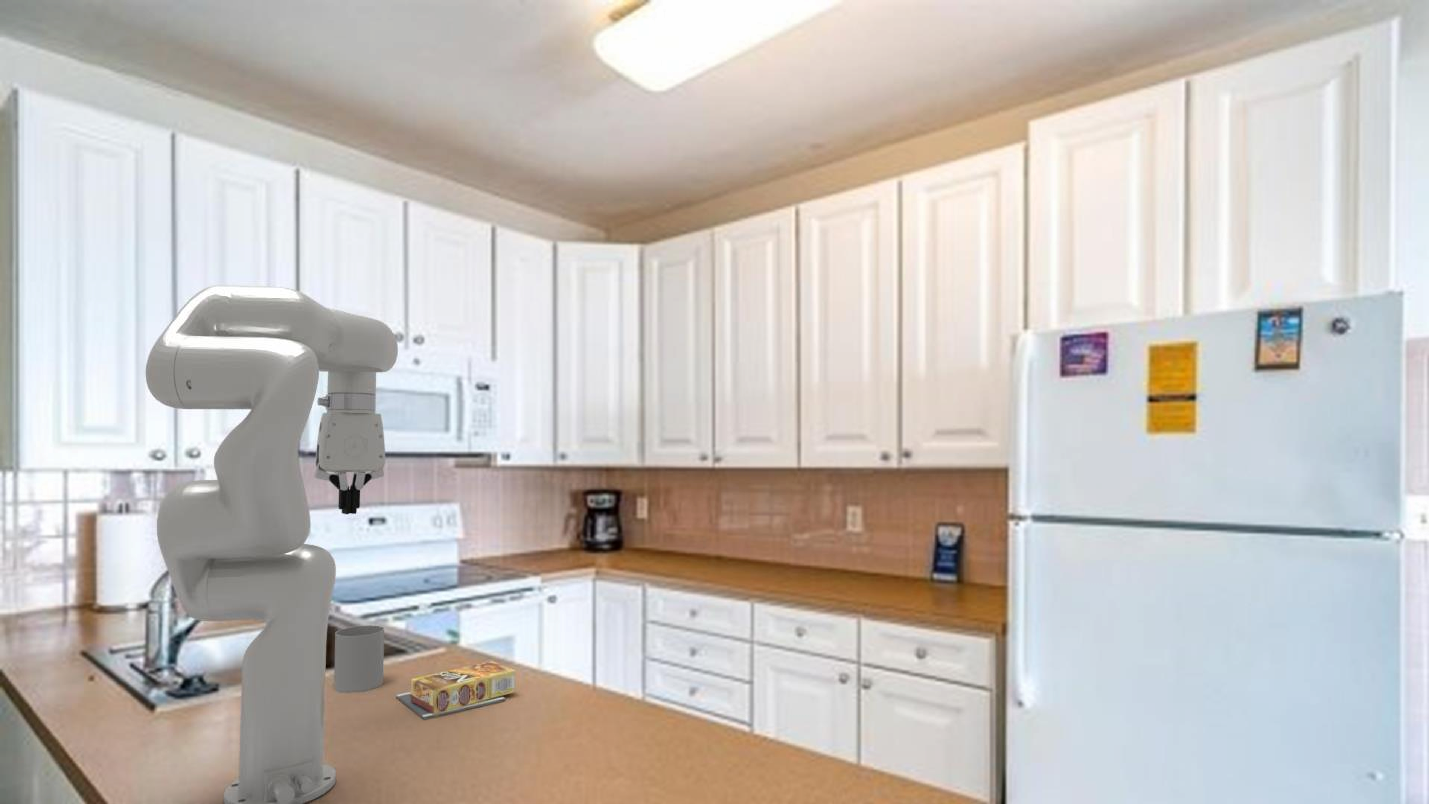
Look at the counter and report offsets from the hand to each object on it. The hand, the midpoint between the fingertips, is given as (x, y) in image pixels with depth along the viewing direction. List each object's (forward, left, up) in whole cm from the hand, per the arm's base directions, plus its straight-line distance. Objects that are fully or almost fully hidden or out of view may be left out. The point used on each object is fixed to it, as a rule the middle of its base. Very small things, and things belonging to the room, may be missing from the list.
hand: (349, 513), depth 129 cm
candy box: (-6, -25, -31) cm, 40 cm away
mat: (-5, -16, -33) cm, 37 cm away
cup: (+14, -6, -33) cm, 37 cm away
